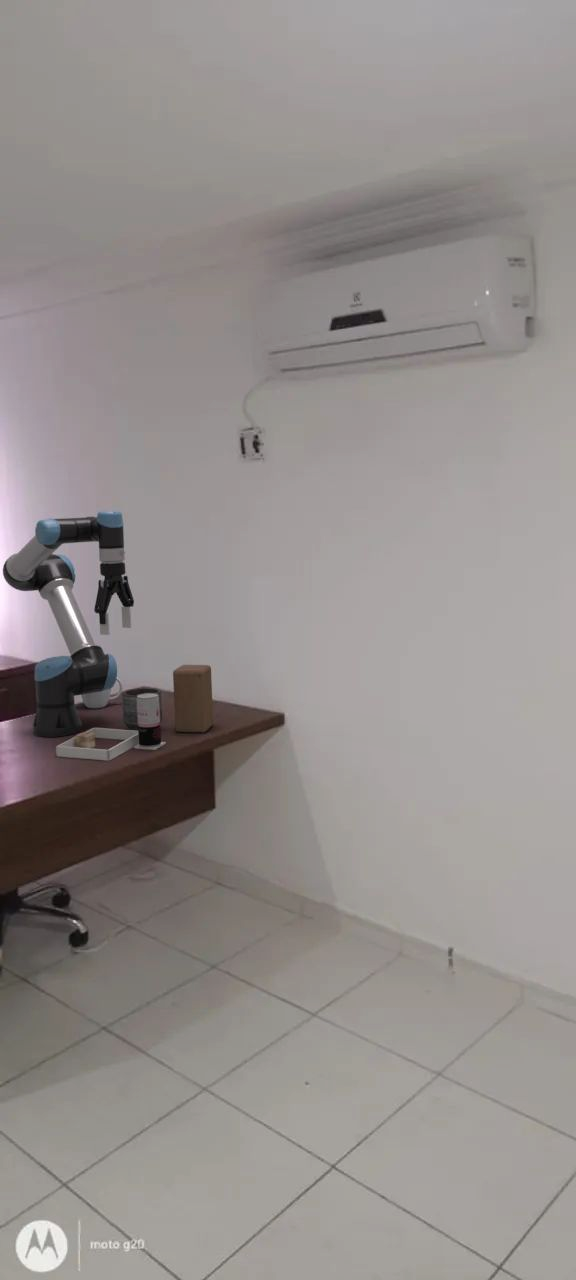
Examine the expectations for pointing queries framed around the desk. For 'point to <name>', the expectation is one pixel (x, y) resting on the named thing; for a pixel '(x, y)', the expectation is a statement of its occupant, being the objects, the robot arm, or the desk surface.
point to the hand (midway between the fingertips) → (116, 631)
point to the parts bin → (99, 754)
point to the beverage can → (148, 720)
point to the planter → (131, 705)
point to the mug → (99, 697)
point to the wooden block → (193, 698)
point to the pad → (150, 747)
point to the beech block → (85, 740)
